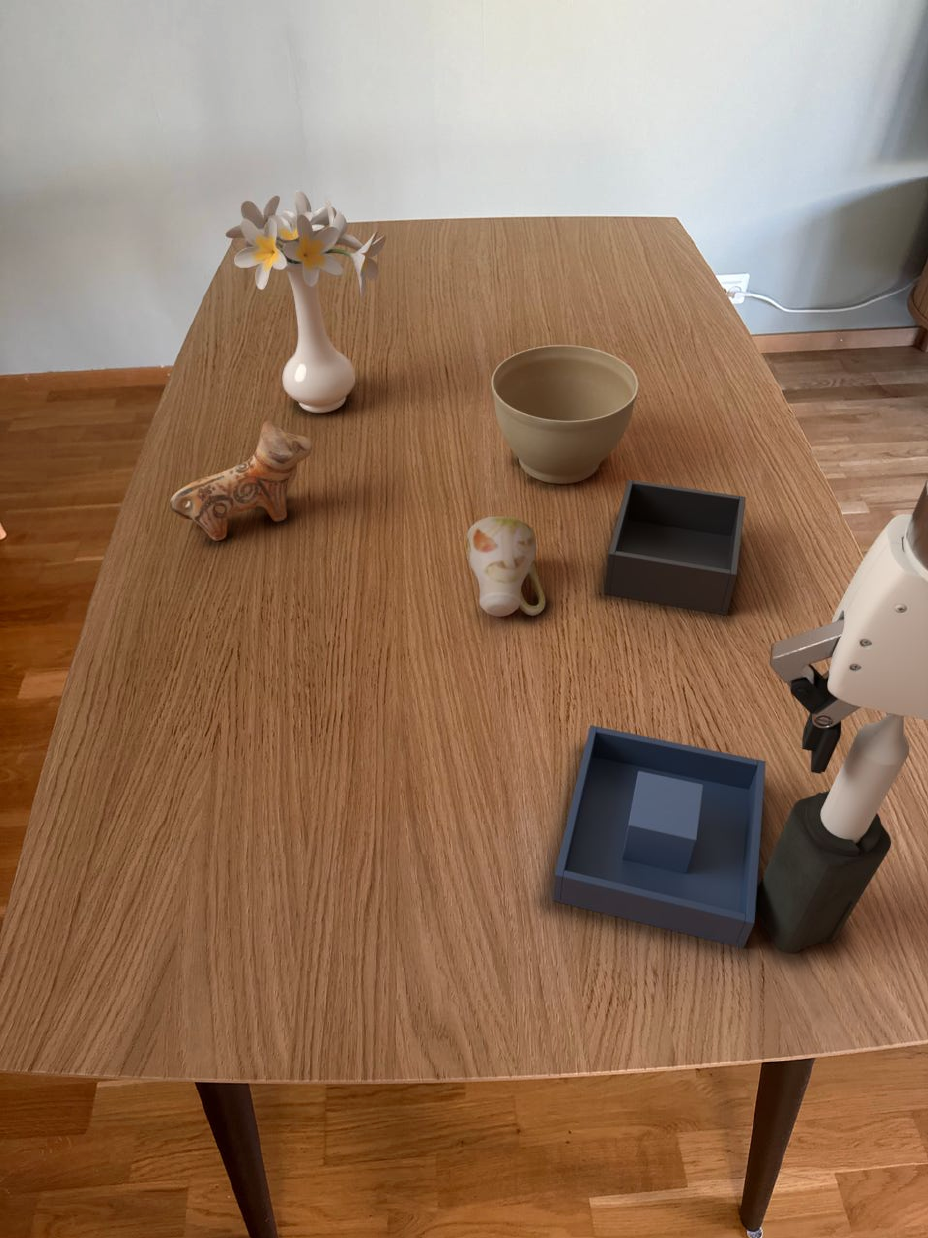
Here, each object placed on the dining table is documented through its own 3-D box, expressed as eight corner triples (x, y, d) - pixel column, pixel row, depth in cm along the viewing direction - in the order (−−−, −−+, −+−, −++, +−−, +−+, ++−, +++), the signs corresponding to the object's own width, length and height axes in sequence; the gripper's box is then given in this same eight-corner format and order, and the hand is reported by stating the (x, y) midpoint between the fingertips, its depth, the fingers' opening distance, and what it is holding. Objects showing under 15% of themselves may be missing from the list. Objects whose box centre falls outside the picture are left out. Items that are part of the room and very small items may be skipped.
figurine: (331, 514, 102) (318, 439, 95) (191, 560, 98) (166, 485, 90) (310, 482, 107) (296, 408, 100) (174, 524, 102) (150, 450, 95)
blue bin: (755, 789, 76) (765, 761, 73) (743, 948, 66) (754, 923, 64) (586, 753, 79) (590, 724, 76) (552, 901, 69) (554, 875, 67)
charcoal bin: (735, 537, 98) (745, 496, 94) (726, 615, 90) (737, 574, 86) (622, 519, 101) (627, 479, 97) (603, 594, 92) (608, 553, 88)
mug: (465, 632, 90) (445, 533, 87) (486, 602, 98) (468, 512, 96) (540, 623, 87) (522, 522, 85) (554, 593, 96) (538, 501, 94)
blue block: (693, 819, 73) (703, 784, 70) (686, 874, 70) (696, 840, 67) (631, 805, 74) (638, 770, 71) (621, 859, 71) (628, 824, 68)
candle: (781, 958, 66) (888, 753, 48) (747, 895, 69) (835, 682, 51) (844, 938, 67) (972, 730, 49) (807, 877, 70) (913, 662, 52)
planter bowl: (651, 487, 104) (663, 405, 97) (517, 515, 101) (518, 433, 94) (597, 412, 115) (605, 333, 107) (475, 436, 112) (473, 356, 105)
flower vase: (389, 430, 114) (369, 229, 96) (245, 424, 115) (200, 225, 98) (405, 375, 123) (390, 182, 105) (272, 370, 124) (235, 179, 106)
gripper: (1201, 512, 41) (1034, 747, 54) (802, 457, 45) (734, 690, 58) (1250, 628, 36) (1053, 857, 49) (797, 556, 40) (724, 787, 53)
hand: (882, 765), depth 53 cm, fingers open, 6 cm apart
